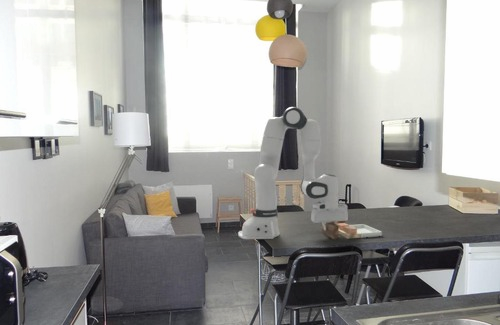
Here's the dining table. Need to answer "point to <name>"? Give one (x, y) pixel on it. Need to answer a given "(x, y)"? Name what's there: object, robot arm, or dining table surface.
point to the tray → (367, 231)
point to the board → (346, 235)
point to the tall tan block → (330, 230)
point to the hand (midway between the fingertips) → (329, 229)
